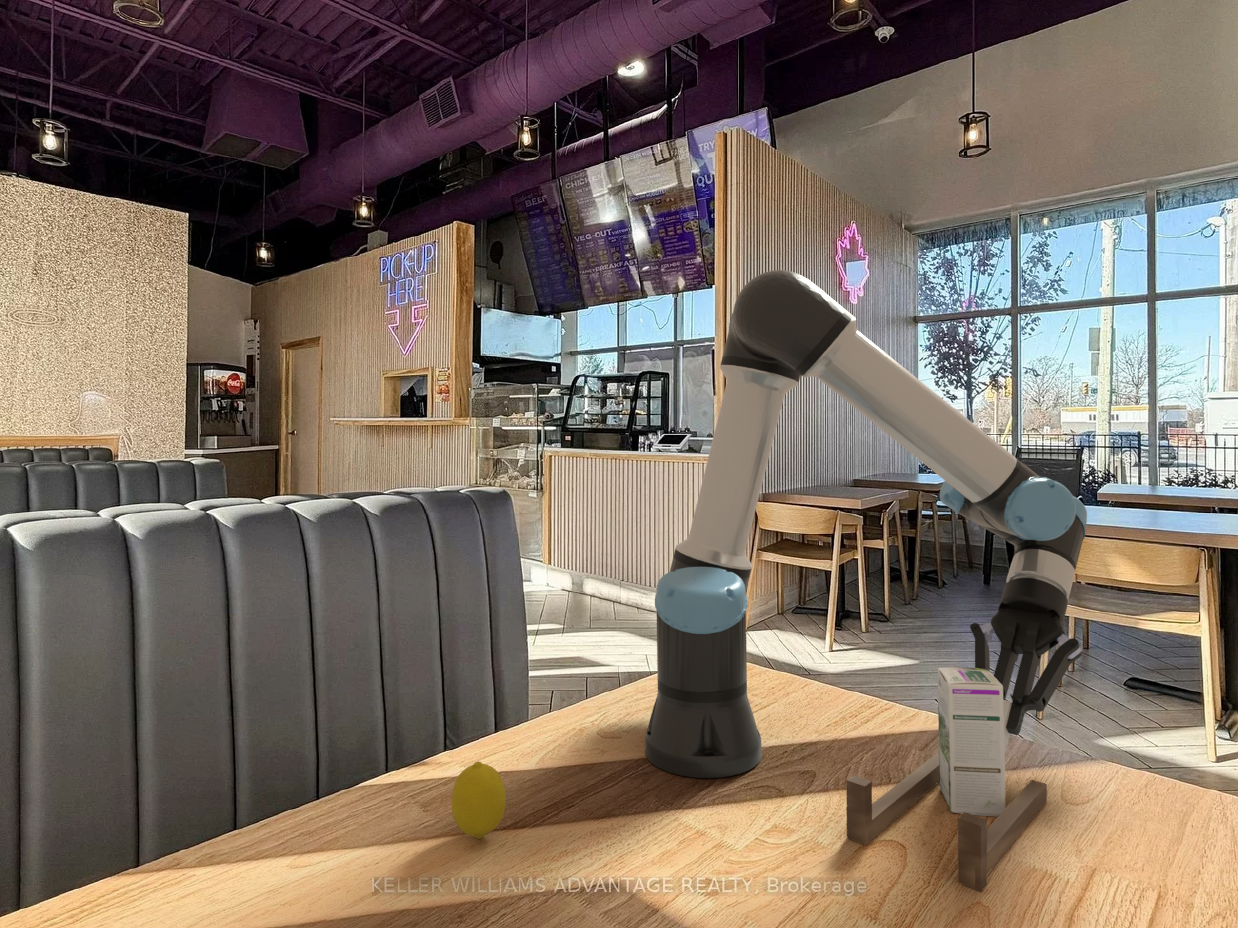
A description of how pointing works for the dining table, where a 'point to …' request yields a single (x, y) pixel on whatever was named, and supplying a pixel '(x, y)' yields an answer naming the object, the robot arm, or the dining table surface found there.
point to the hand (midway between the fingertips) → (993, 754)
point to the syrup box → (971, 741)
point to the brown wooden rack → (974, 839)
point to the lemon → (478, 800)
